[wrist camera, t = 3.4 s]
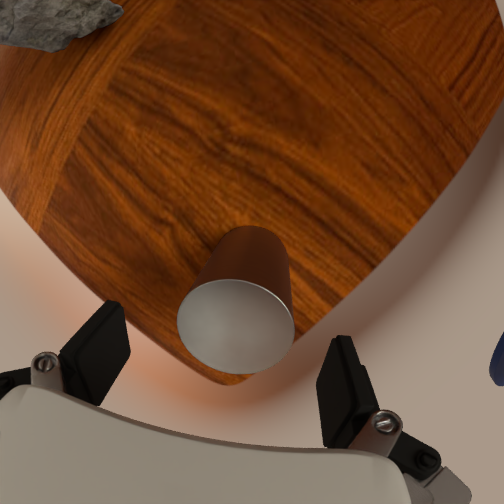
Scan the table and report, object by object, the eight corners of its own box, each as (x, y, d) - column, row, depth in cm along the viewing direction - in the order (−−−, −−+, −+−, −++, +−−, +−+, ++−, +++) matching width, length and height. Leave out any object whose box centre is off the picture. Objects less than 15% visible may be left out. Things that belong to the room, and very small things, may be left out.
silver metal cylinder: (293, 231, 20) (305, 289, 11) (281, 298, 22) (282, 380, 13) (217, 220, 20) (175, 270, 11) (212, 288, 22) (178, 363, 13)
